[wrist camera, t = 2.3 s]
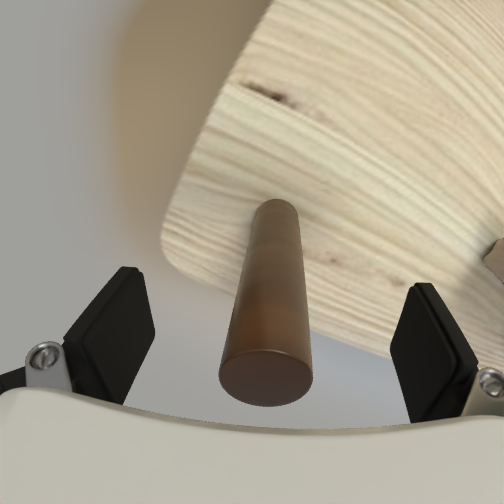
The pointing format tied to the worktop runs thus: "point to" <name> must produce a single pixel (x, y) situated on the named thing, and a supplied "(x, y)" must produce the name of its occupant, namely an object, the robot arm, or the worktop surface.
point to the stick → (270, 315)
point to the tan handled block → (496, 260)
